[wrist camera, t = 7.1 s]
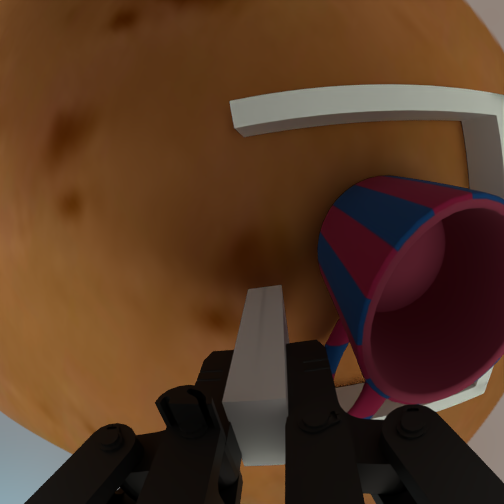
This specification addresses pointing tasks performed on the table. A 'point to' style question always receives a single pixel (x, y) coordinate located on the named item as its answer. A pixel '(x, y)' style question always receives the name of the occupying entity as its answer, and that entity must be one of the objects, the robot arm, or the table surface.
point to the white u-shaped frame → (391, 109)
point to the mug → (414, 287)
